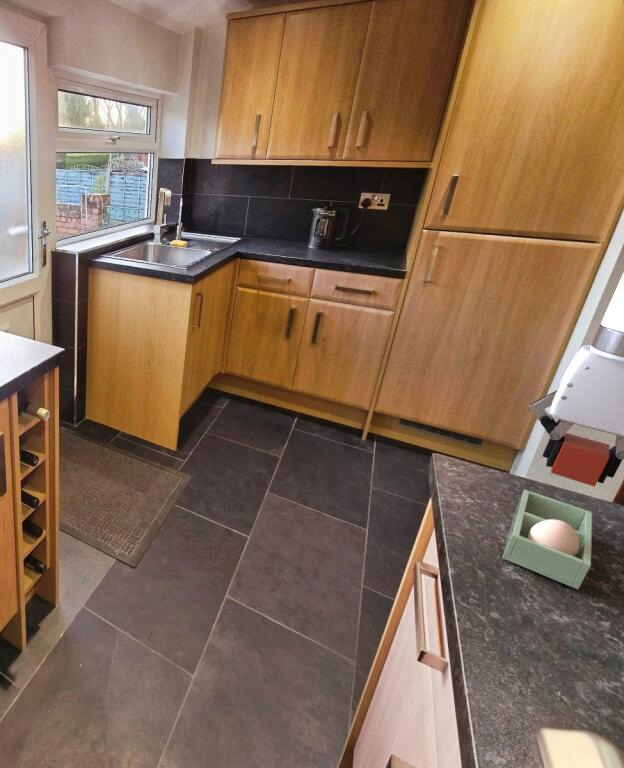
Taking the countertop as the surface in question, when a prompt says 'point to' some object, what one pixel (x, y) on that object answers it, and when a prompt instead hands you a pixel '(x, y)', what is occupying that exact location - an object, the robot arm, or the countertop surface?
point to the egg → (556, 536)
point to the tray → (544, 557)
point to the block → (581, 459)
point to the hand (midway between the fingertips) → (574, 469)
